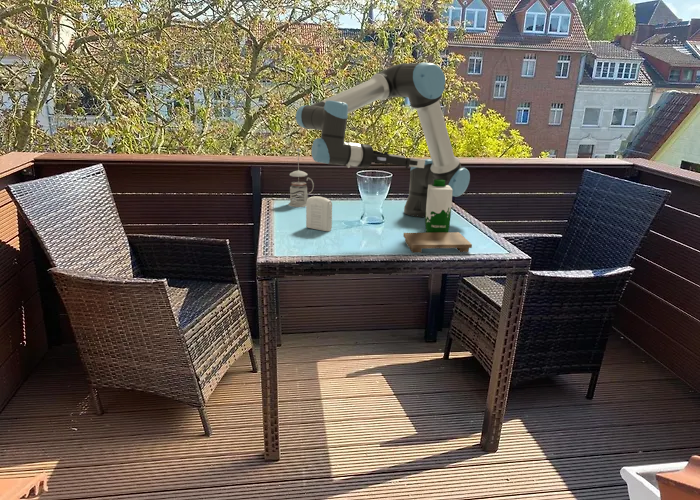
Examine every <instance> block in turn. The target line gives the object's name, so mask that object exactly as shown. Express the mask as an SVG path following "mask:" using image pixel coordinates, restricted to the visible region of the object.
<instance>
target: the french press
mask: <svg viewBox="0 0 700 500" xmlns="http://www.w3.org/2000/svg"><path fill="white" fill-rule="evenodd" d="M296 152H297V153H298V154H297V166H298V168H297V170H294V171H292V172H290V173H289V176H290V177H294V178H295V177H296V178H297V177H298V178H297V179H298V181H291V182H290V187H289V193H290V194H289V196H290V199H289V202H288V205H287V206H290V207H293V208H300V207H301V208H304V207H305V208H306V202H307V199H308V198H309V196H308V195H310V194H311V193H312V192H313V190H314V187H315V183H314V181H313V179H312V178H310V177H307V176H308V173H307V172H305V171H302V170H300V167H299V165H300V163H299V161H300V160H299V159H300V158H299V157H300V155H299V153H300V152H301V149H300V148H296ZM302 177H306V181H307V182H308V180H310V181H311V184H312V189H311V190H310V192H308V186H307V184H308V183H307V182H305V181H300V178H302Z"/></svg>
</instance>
